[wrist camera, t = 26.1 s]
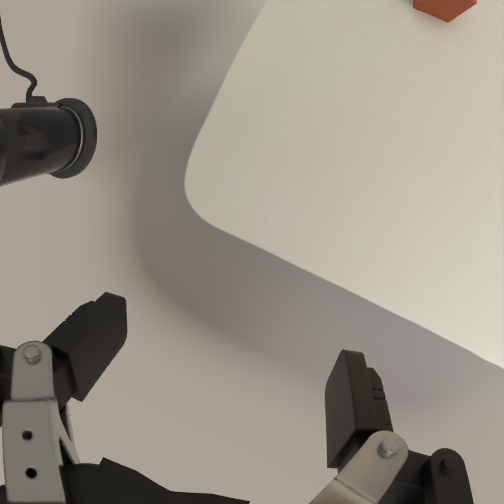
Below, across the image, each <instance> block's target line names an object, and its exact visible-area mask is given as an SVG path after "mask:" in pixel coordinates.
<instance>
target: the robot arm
mask: <svg viewBox="0 0 504 504" xmlns="http://www.w3.org/2000/svg"><path fill="white" fill-rule="evenodd" d="M0 42H1V46H2V49H3V53H4V56H5V59H6V61H7V63H8V65H9V66H10V68H11V69H12V70H13V71H14V72H15V73H17V74H19V75H21V76H24V77H26V78H28V79H29V80H30V81H31V83H32V84H31V85H30V87H29V88H28V90H27V93H26V103H14V104H13V105H12V107H11V108H8V109H0V187H1V186H4V185H7V184H11V183H14V182H17V181H21V180H24V179H27V178H31V177H35V176H39V175H43V174H50V173H53V172H55V171H62V170H66V169H69V168H70V167H72V166H73V165H74V164H75V163H76V162H77V161H78V159H79V158H80V156H81V154H82V151H83V148H84V144H85V127H84V123H83V120H82V118H81V116H80V115H79V113H78V112H77V111H76V110H74V109H73V108H71V107H64V106H63V105H62V103H48V102H47V100H46V99H45V97H44V96H32V91H33V90H34V88H35V87H36V85H37V80H36V78H35V77H34V76H33V75H32V74H31V73H29V72H26V71H24V70H22V69H20V68H18V67H17V66H16V65H15V64H14V63H13V61H12V59H11V58H10V55H9V52H8V49H7V46H6V42H5V38H4V35H3V31H2V25H1V18H0ZM126 337H127V312H126V300H125V298H124V297H121V296H118V295H115V294H111V293H108V292H105V293H104V294H103V295H102V296H101V297H99V298H98V299H97V300H96V301H95V302H94V301H90V302H88V303H86V304H83V305H81V306H79V307H78V308H77V309H76V310H75V311H74V312H73V313H72V315H70V316H69V317H68V318H67V319H66V321H63V322H62V323H61V324H60V325H59V326H58V327H57V328H56V329H55V330H54V331H53V332H52V333H51V334H50V335H49V336H48V337H47V338H46V339H45V340H44V341H43V342H39V341H29V342H26V343H23V344H21V345H20V346H19V347H18V348H17V349H15V348H10V347H6V346H1V345H0V427H1V426H2V438H3V439H2V440H3V462H4V476H5V485H1V486H0V504H249V502H250V501H245V500H240V499H234V498H229V497H225V496H219V495H216V494H206V493H187V492H174V491H170V490H167V489H165V488H164V487H162V486H160V485H158V484H157V483H155V482H153V481H152V480H150V479H149V478H147V477H145V476H144V475H142V474H141V473H139V472H138V471H136V470H133V469H130V468H128V467H126V466H123V465H120V464H118V463H115V462H113V461H111V460H108V459H106V458H104V457H103V459H102V460H101V462H100V464H99V465H98V464H90V463H80V460H79V457H78V455H77V452H76V448H75V444H74V439H73V433H72V428H71V421H70V415H69V407H68V404H67V402H68V401H69V400H70V398H71V397H73V398H74V399H76V400H79V401H81V402H82V401H83V400H84V398H85V397H86V396H87V394H88V393H89V391H90V390H91V389H92V387H93V386H94V384H95V383H96V382H97V380H98V379H99V377H100V376H101V375H102V373H103V372H104V371H105V369H106V368H107V366H108V365H109V364H110V362H111V361H112V360H113V358H114V357H115V356H116V354H117V353H118V352H119V350H120V349H121V348H122V346H123V345H124V343H125V340H126ZM385 399H386V397H385V393H384V391H383V385H382V381H381V378H380V377H379V375H378V374H377V373H376V371H375V370H374V368H368V367H366V362H365V358H364V354H363V353H362V352H356V351H349V350H342V351H341V353H340V354H339V356H338V359H337V361H336V363H335V365H334V368H333V370H332V372H331V374H330V376H329V379H328V381H327V384H326V389H325V409H326V436H327V468H338V475H337V476H336V477H335V478H334V479H333V480H332V481H331V482H330V483H329V484H328V485H327V486H326V487H325V488H324V489H323V491H321V492H320V494H318V495H317V496H316V497H315V498H314V499H313V500H312V501H311V503H309V504H474V503H473V498H472V493H471V488H470V484H469V479H468V475H467V471H466V467H465V463H464V461H463V459H462V457H461V456H460V455H459V454H458V453H457V452H456V451H454V450H452V449H448V448H442V449H439V450H437V451H435V452H434V453H433V454H432V456H427V455H424V454H420V453H417V452H413V451H410V450H408V446H407V444H406V442H405V441H404V440H403V439H402V438H401V437H400V436H399V435H398V434H396V433H394V432H393V428H392V424H391V419H390V414H389V410H388V406H387V401H386V400H385Z"/></svg>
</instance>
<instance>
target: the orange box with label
mask: <svg viewBox="0 0 504 504" xmlns="http://www.w3.org/2000/svg"><path fill="white" fill-rule="evenodd" d="M476 3H477V1H476V0H414V8H416V9H418V10H421V11H423V12H426V13H428V14H431V15H433V16H435V17H438V18H440V19H442V20H444V21H447V22H450V21H451V20H453V19H454V18H456V17H457V16H459V15H460V14H462V13H463V12H464V11H466V10H467V9H469V8H470V7H472V6H473V5H475V4H476Z"/></svg>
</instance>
